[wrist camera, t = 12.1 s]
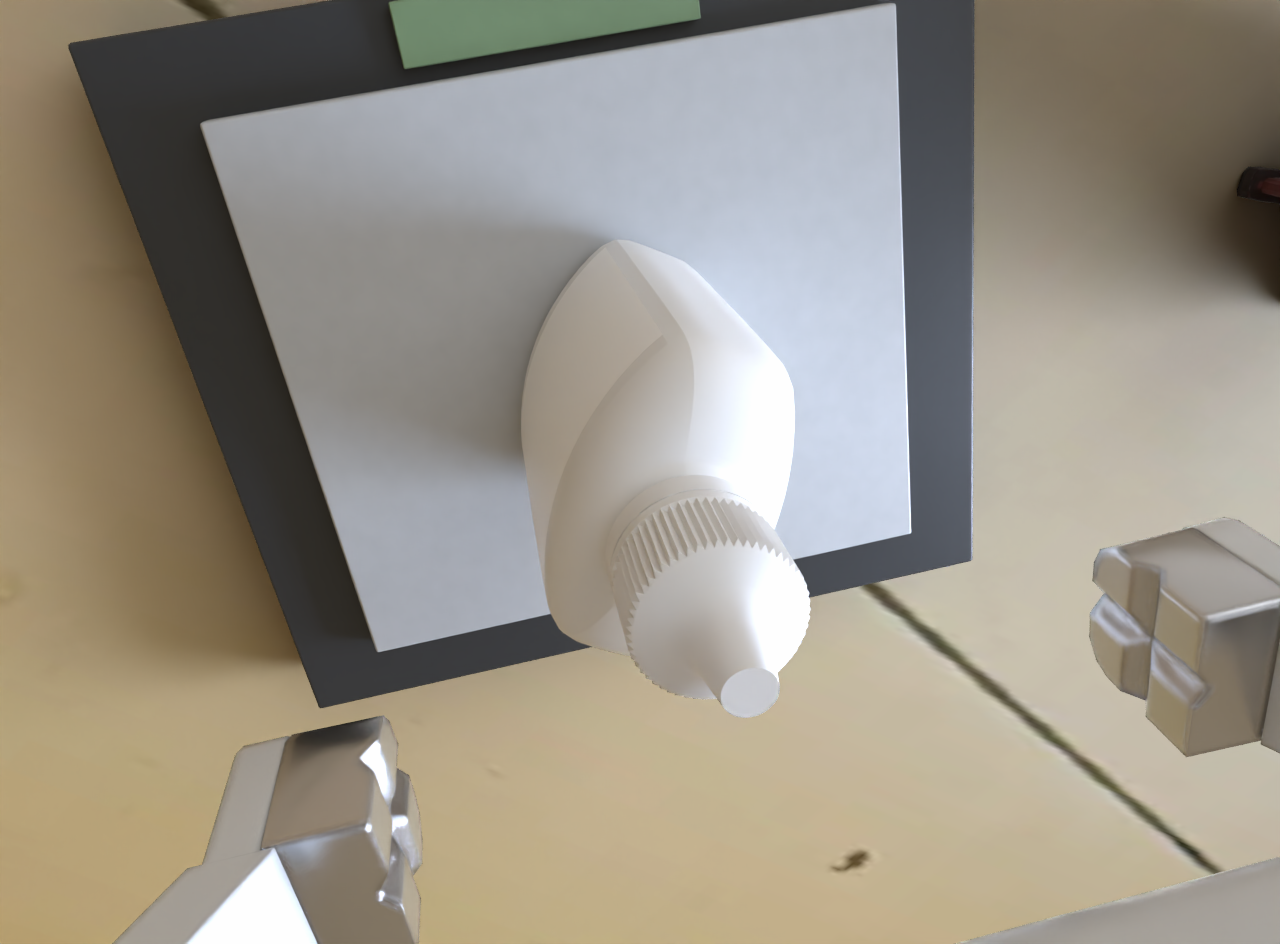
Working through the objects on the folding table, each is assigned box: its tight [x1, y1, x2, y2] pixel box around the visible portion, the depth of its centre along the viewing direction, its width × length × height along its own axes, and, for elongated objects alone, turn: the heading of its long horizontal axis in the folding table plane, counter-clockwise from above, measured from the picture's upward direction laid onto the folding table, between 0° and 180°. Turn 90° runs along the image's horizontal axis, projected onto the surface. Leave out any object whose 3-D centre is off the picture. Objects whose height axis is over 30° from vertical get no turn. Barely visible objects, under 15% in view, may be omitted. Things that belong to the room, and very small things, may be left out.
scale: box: [68, 0, 974, 708], centre depth 23 cm, size 16×18×3 cm
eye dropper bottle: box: [521, 239, 811, 718], centre depth 16 cm, size 4×6×12 cm
